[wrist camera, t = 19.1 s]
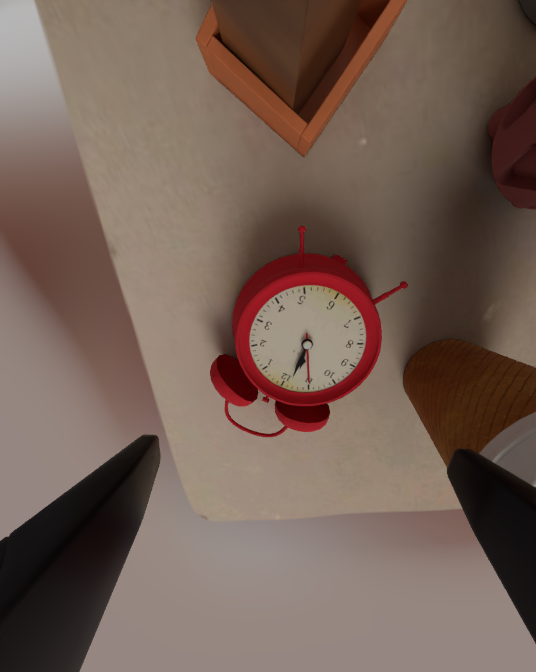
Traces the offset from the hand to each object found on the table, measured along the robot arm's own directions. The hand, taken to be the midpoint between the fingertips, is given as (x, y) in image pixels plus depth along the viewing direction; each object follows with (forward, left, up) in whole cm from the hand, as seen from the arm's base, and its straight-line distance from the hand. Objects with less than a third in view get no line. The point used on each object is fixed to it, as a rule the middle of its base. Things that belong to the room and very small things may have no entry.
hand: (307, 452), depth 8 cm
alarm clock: (-2, +1, -14) cm, 14 cm away
